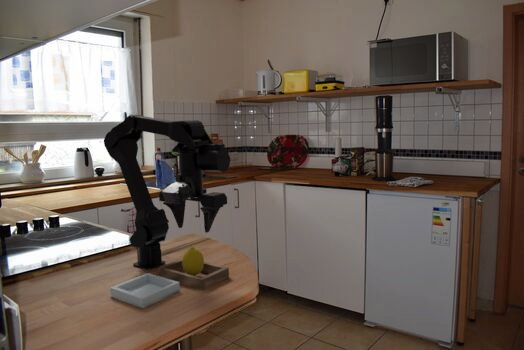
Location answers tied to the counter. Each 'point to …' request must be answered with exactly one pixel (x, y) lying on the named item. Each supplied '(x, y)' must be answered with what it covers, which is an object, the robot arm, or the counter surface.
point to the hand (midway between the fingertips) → (193, 229)
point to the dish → (145, 290)
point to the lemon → (193, 261)
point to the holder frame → (213, 270)
